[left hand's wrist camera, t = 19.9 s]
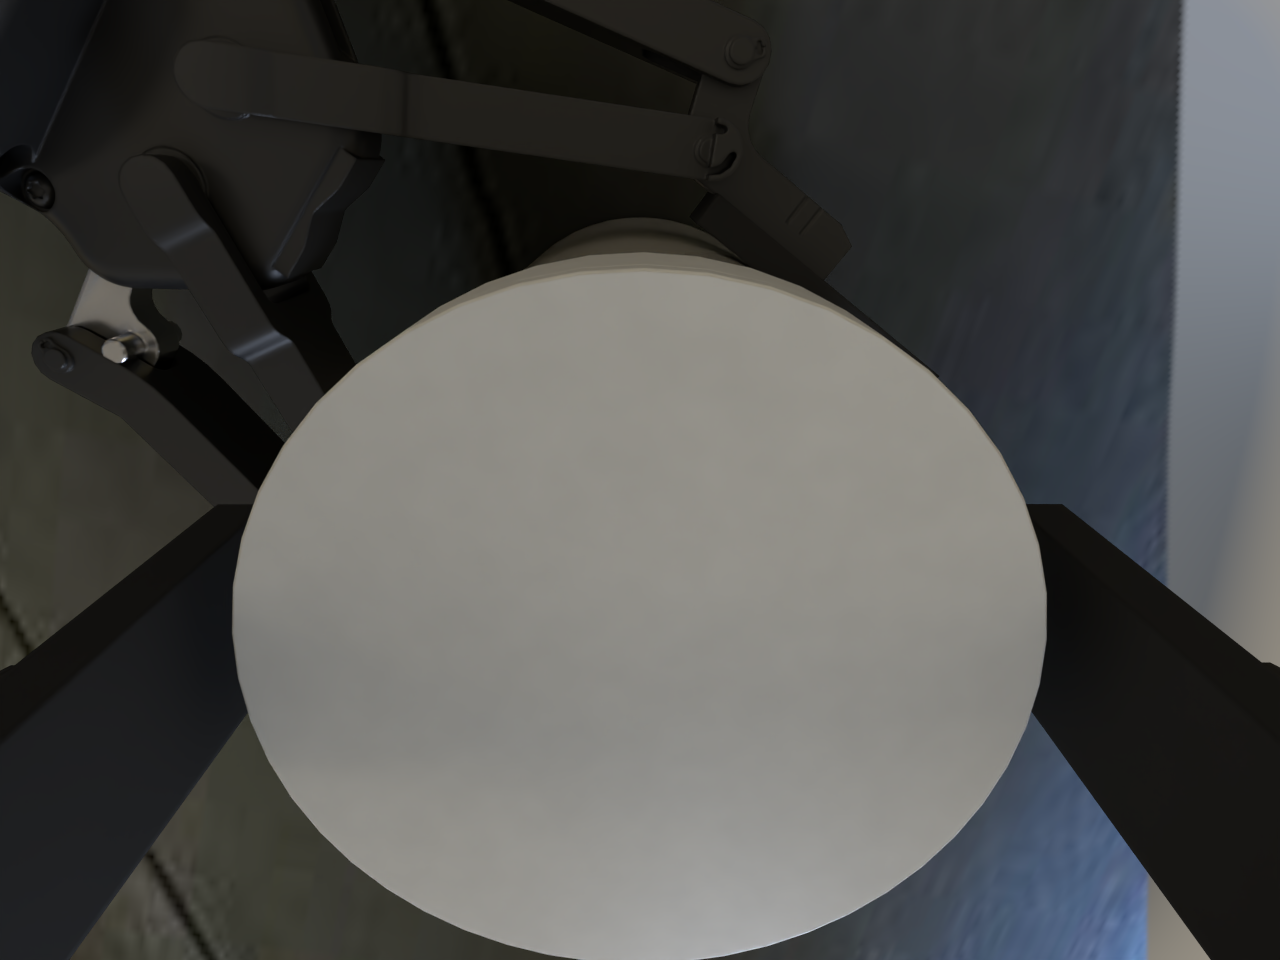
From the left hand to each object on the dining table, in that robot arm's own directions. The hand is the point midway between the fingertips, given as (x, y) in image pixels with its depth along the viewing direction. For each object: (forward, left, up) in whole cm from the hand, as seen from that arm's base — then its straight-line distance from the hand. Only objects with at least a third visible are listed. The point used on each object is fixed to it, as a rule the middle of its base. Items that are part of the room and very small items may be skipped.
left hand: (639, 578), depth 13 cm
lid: (0, 0, +2) cm, 2 cm away
